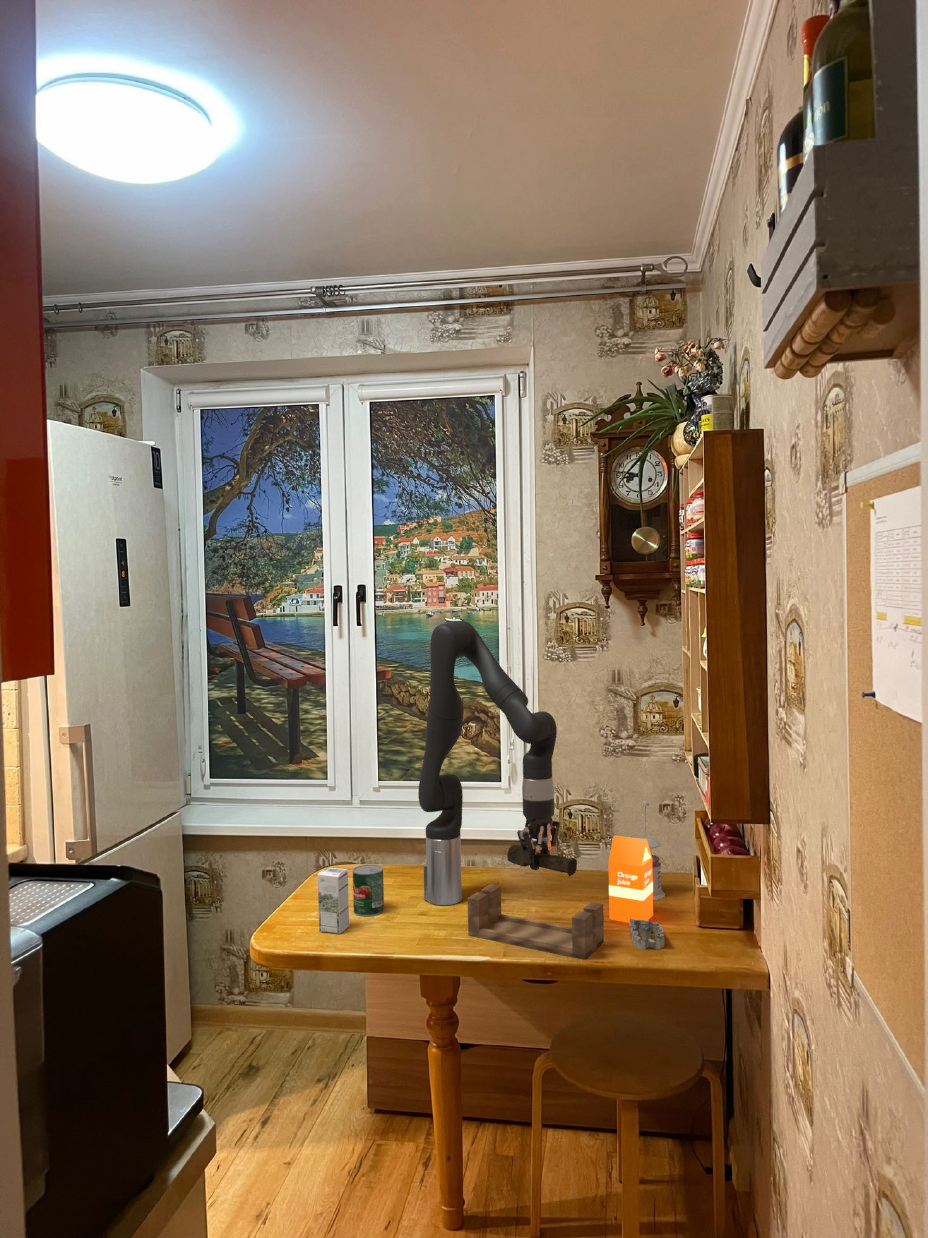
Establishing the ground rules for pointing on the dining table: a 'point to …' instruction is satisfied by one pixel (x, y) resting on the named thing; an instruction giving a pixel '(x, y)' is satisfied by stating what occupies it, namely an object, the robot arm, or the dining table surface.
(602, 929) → the cradle
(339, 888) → the syrup box
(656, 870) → the french press
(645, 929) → the egg carton
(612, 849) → the orange juice
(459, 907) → the dining table surface
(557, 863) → the hand tool
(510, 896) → the dining table surface
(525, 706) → the robot arm
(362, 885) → the canned tomato
